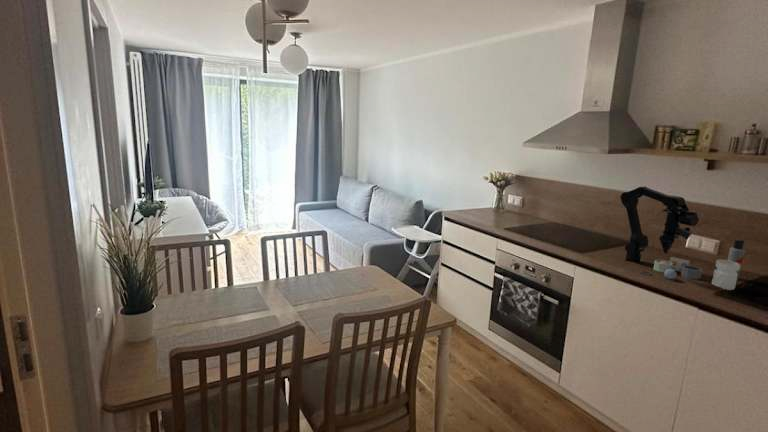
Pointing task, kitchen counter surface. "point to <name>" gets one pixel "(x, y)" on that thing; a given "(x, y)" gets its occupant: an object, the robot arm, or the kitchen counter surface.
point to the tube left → (662, 265)
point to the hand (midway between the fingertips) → (667, 251)
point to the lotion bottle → (737, 253)
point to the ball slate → (670, 273)
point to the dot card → (678, 263)
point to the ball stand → (651, 273)
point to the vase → (725, 274)
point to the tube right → (691, 272)
